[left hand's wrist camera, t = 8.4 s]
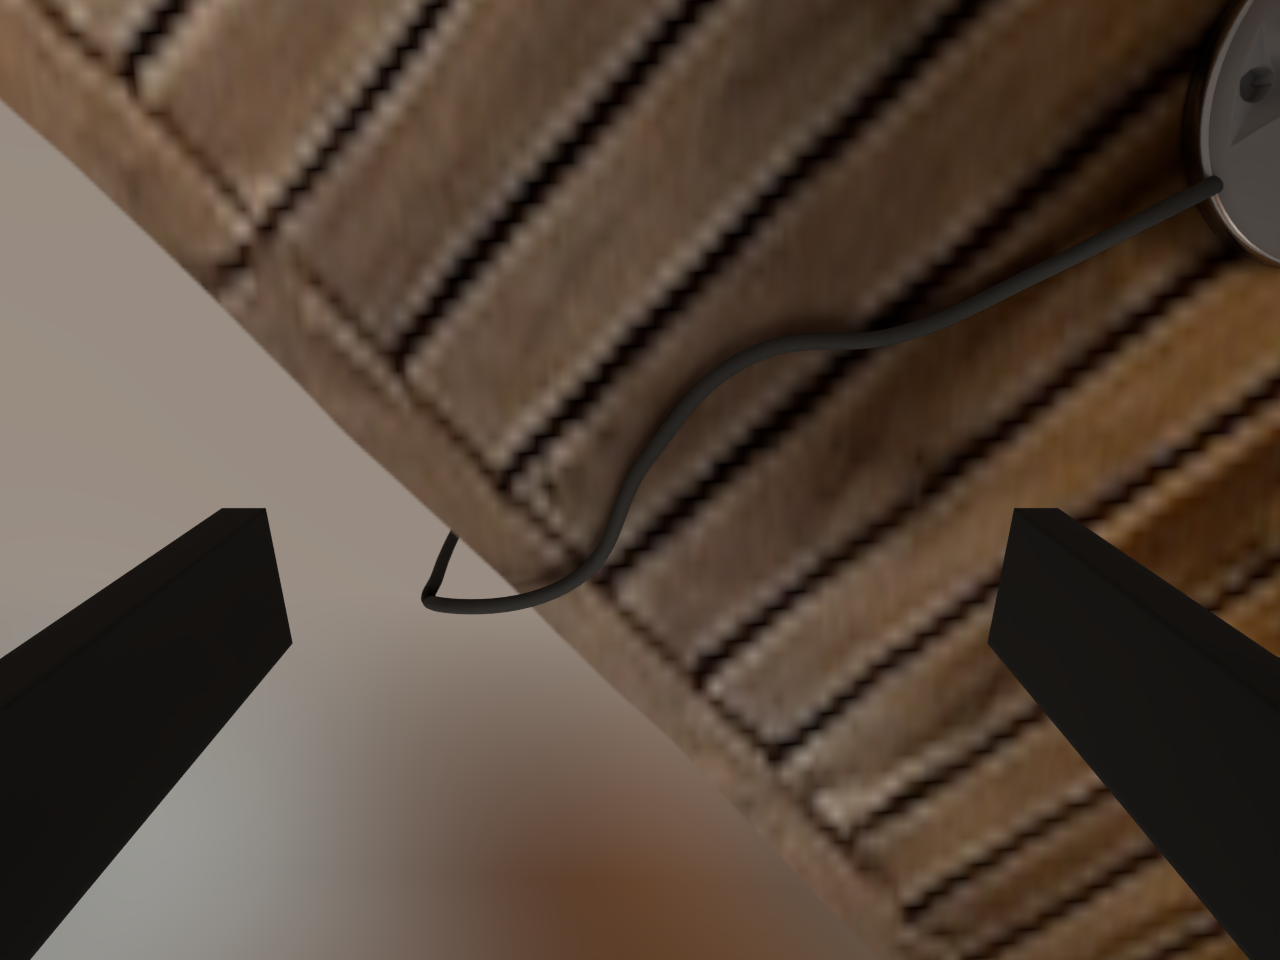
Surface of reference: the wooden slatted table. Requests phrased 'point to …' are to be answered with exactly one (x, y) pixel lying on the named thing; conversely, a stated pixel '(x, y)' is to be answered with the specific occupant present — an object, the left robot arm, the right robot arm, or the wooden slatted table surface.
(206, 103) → the wooden slatted table surface
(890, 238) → the wooden slatted table surface
